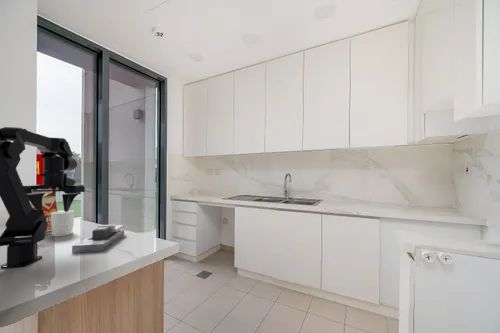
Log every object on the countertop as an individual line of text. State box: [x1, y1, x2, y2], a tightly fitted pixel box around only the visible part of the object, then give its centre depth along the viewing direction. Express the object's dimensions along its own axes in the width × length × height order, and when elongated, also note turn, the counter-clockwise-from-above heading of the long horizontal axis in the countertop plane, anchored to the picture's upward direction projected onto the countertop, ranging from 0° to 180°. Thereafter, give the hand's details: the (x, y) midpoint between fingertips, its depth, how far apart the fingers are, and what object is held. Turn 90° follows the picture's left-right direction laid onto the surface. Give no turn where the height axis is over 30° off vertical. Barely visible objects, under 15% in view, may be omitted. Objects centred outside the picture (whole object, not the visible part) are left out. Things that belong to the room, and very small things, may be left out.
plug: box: [91, 227, 111, 240], centre depth 82 cm, size 4×4×5 cm
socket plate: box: [71, 229, 125, 254], centre depth 81 cm, size 17×10×2 cm, turn 10°
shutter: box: [97, 224, 124, 232], centre depth 89 cm, size 8×7×3 cm
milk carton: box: [30, 192, 59, 233], centre depth 98 cm, size 9×9×20 cm
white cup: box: [51, 209, 75, 237], centre depth 92 cm, size 8×8×10 cm
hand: (53, 212), depth 78 cm, fingers open, 9 cm apart
